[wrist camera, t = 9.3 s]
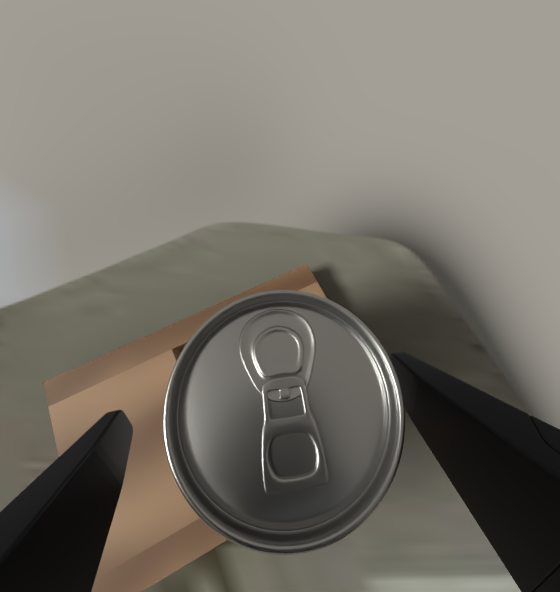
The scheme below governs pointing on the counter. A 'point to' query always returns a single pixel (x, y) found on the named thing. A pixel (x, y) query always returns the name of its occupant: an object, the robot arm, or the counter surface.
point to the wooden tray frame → (144, 447)
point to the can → (283, 422)
